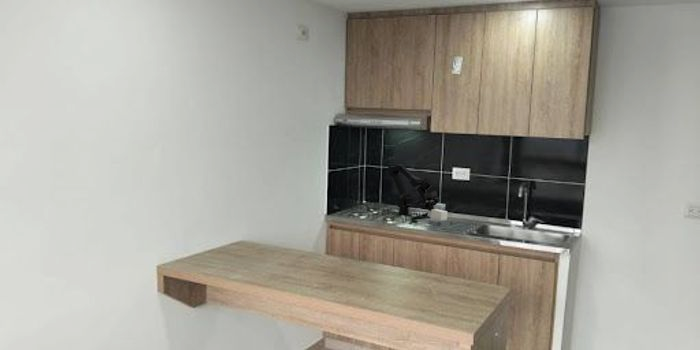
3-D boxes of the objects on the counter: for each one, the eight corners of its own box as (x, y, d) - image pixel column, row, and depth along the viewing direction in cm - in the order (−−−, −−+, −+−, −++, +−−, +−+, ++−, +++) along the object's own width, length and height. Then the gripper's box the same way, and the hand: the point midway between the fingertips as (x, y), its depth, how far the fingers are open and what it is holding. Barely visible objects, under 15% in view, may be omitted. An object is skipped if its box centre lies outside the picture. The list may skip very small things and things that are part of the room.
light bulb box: (444, 218, 388) (445, 204, 387) (440, 220, 382) (441, 205, 381) (430, 216, 394) (432, 201, 392) (426, 217, 388) (428, 202, 387)
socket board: (414, 221, 371) (414, 214, 371) (427, 219, 380) (428, 213, 380) (438, 228, 355) (439, 221, 354) (452, 226, 364) (452, 219, 363)
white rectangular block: (430, 222, 365) (431, 209, 364) (436, 221, 369) (437, 208, 368) (440, 225, 359) (441, 212, 358) (446, 224, 362) (447, 211, 361)
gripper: (420, 187, 363) (431, 206, 356) (439, 186, 375) (450, 205, 368) (411, 197, 370) (421, 216, 363) (429, 195, 382) (440, 214, 375)
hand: (433, 212), depth 367 cm, fingers closed, pressing on white rectangular block
